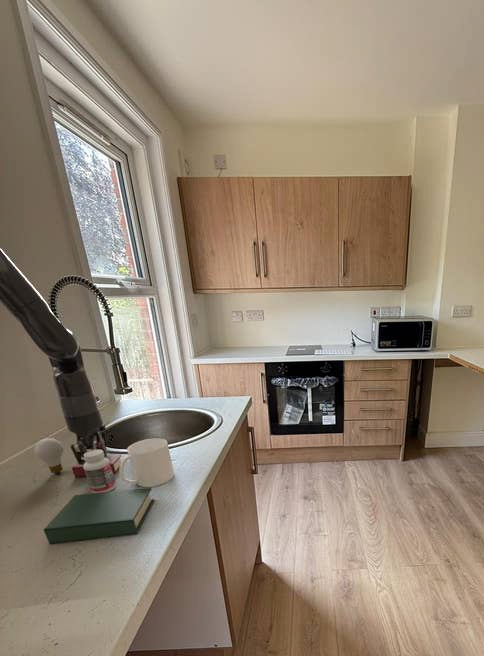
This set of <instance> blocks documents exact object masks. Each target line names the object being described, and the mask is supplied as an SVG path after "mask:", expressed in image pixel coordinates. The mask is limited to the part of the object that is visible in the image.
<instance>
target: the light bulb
mask: <svg viewBox="0 0 484 656" xmlns="http://www.w3.org/2000/svg"><path fill="white" fill-rule="evenodd" d="M63 453H64V446H63V444H62V443H61V442H60V440H57V439H56V438H51V437H50V438H47V437H46V438H43V439H41V440H39V441H38V442H37V443H36V444H35V446H34V454H35V456H36V457H37V458H38V459H40V460H41V461H43V462H44V463H45V464H46V466H47V467H48V469H49V471H50V473H51V474H55V475H58V474H60V473H61V472H62V471H63V470H64V469H63V465H62V455H63Z"/></svg>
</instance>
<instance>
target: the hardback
mask: <svg viewBox="0 0 484 656" xmlns="http://www.w3.org/2000/svg"><path fill="white" fill-rule="evenodd" d="M152 489H153V487H141V488H133V489H122V490H111V491H108V492H102V493H92V492H91V493H84V494H74V496H72V498H71V499H70V500H68V502H67V503H66V504H65V505H64V507H63V508H62V509H61V510H60V511H59V512H58V513H57V514H56V515H55V516H54V518H52V520H51V521H50V522H49V523H48V524H47V525H46V526H45V527H44V528H43V532H44V534H45V537H46V539H47V542H48V545H55V544H56V545H57V544H63V543H72V542H81V541H82V542H83V541H90V540H91V541H92V540H98V539H107V538H115V537H116V538H117V537H125V536H133V535H138V533H139V531H140V529H141V528H142V526H143V524H144V522H145V520H146V518H147V517H148V514H149V512H150V510H151V509H152V506H153V504H154V502H155V498H153V499H152V497H151V494H150V493H151V491H152Z"/></svg>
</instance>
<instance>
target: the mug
mask: <svg viewBox="0 0 484 656" xmlns="http://www.w3.org/2000/svg"><path fill="white" fill-rule="evenodd" d="M168 443H169V442H168V441H167V439H164V438H161V437H152V438H146V439H142V440H138V441H136V442H134V443H132V444H130V445H129V446H127V448H126V451H127V455H126V456H124V457H123V458H122V460H121V464H120V468H119V471H118V473H119V477H120V478H121V481H122V482H125V483H127V484H130V485H134V484H135V485H137V486H139V487H141V488H155V487H159V486H161V485H164V484H166V483H168V482H170V481H171V480H172V479H173V477H174V476H175V470H174V466H173V461H172V457H171V453H170V452H171V451H170V449H169V444H168ZM128 461H129V463H130V466H131V470H132V473H133V477H134V479H128V478H127V477H125V474H124V469H125V466H126V463H127V462H128Z"/></svg>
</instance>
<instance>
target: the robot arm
mask: <svg viewBox="0 0 484 656" xmlns="http://www.w3.org/2000/svg"><path fill="white" fill-rule="evenodd" d="M0 304H1V306H3V308H4V309H5V310H6V311H7V312H8V313H9V314H10V315H11V316H12V318H14V319H15V320H16V321H17V322H18V324H20V325H21V327H22V328H23V330H24V332H26V334H27V335H28V336H29V337H30V339H31V340H32V341H33V343H34V344H35V345H36V347H37V348H38V349H39V350H40V351H41V352H42V353H43V354H44V355H45V356H46V357H48V361H49V363H50V366H51V369H52V380H53V384H54V386H55V390H56V393H57V395H58V400H59V406H60V409H61V412H62V415H63V418H64V420H65V424H66V427H67V429H68V431H69V432H71V433H73V434H75V436H76V443H73V444H71V445H70V449H71V451H72V453H73V455H74V457H75V459H76V461H77V462H78V464H79V465H83V464H84V463H85V462H86V461H85V460H84V454H85V453H86V452H89V451H92V450H103V452H104V456H108V455H107V450H108V449H107V447H109V445H110V444H109V439H108V438H109V437H108V433H107V427H106V425H104V422H103V418H102V415H101V411H100V407H99V405H98V401H97V398H96V396H95V394H94V391H93V388H92V384H91V381H90V378H89V376H88V373H87V371H86V368H85V364H84V363H85V362H84V359H83V358H84V357H83V353H82V349H81V345H80V341H79V338H78V337H77V336H76V334H75V333H74V332H73V331H71V330H70V329H68V328H66V327H65V326H64V325H63V323H62V322H61V321H60V320H59V319H58V318H57V317H56V316H55V314H54V313H53V312H52V310H51V308H50V306H49V304H48V303H47V302H46V300H45V299H44V298H43V297H42V295H41V294H40V293H39V292H38V291H37V290H36V288H35V287H34V286H33V284H31V282H30V281H29V280H28V279H27V278H26V277H25V275H24V274H23V273H22V272H21V271H20V269H19V268H18V267H17V266H16V265H15V263H13V262H12V260H11V259H10V258H9V257H8V256H7V254H5V252H4V251H3V250H2V248H0ZM77 462H76V463H77Z"/></svg>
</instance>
